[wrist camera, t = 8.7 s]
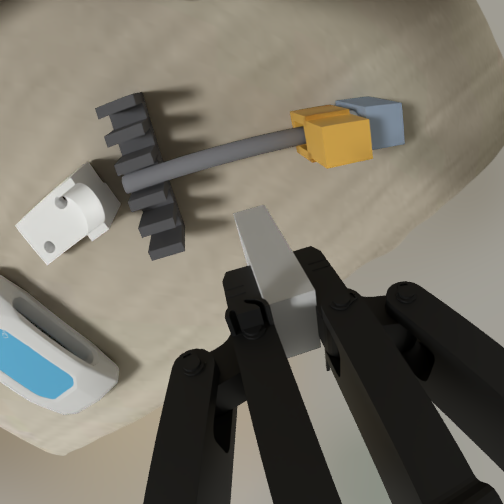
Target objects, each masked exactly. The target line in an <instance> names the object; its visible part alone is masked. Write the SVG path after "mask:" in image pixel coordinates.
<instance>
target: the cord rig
mask: <svg viewBox="0 0 504 504" xmlns="http://www.w3.org/2000/svg"><path fill="white" fill-rule="evenodd" d="M336 106H338V107H342V108H347V109H349V112H350V114H353V115H356V116H360V117H364V118H367V119H369V123H370V132H371V143H372V150H375V149H380V148H386V147H391V146H397V145H402V144H405V142H404V126H403V113H402V103H400V102H395V101H390V100H385V99H380V98H374V97H360V98H352V99H344V100H337V101H336ZM95 110H96V113H97V116H98V119H101V118H103V117H106V116H108V115H109V116H110V119H111V122H112V126H113V129H114V130H113V131H112V132H110V133H109V134H107V135H106V136H104V138H105V141H106V144H107V147H111V146H113V145H116V144H119V147H120V150H121V153H122V157H121V158H120V159H119V160H118V162H117V163H116V164H115V165H114V167H115V170H116V172H117V175H118V176H120V175H123V174H124V176H122V184H123V187H124V190H125V192H126V193H127V194H128V193H132V194H131V196H130V198H129V200H128V204H129V207H130V209H131V212H134V211H137V210H140V209H142V211H143V214H142V217H141V221H140V224H139V228H138V229H139V231H140V234H141V236H142V238H143V237H146V236H149V235H151V240H150V245H149V251H148V253H149V255H150V257H151V259H152V261H153V260H156V259H160V258H163V257H166V256H170V255H173V254H176V253H180V252H183V251H185V226H184V223H183V220H182V217H181V214H180V211H179V208H178V205H177V202H176V199H175V196H174V193H173V190H172V187H171V184H170V181H169V180H171V179H174V178H177V177H180V176H184V175H187V174H190V173H194V172H197V171H200V170H204V169H207V168H211V167H214V166H218V165H222V164H225V163H229V162H233V161H236V160H240V159H244V158H248V157H252V156H256V155H260V154H264V153H268V152H272V151H276V150H281V149H285V148H289V147H294V146H298V145H303V144H306V138H305V132H304V126H301V127H296V128H291V129H286V130H282V131H277V132H273V133H268V134H264V135H260V136H255V137H251V138H247V139H243V140H239V141H235V142H231V143H227V144H224V145H220V146H216V147H213V148H209V149H206V150H202V151H199V152H195V153H192V154H188V155H185V156H182V157H178V158H175V159H172V160H169V161H166V162H163V160H162V157H161V153H160V150H159V147H158V144H157V141H156V137H155V134H154V131H153V127H152V124H151V121H150V117H149V114H148V111H147V107H146V104H145V100H144V97H143V93H142V92H140V93H134V94H131V95H128V96H125V97H123V98H120V99H117V100H115V101H112V102H110V103H107V104H105V105H102V106H100V107H97V108H95Z"/></svg>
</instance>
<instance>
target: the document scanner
mask: <svg viewBox="0 0 504 504" xmlns="http://www.w3.org/2000/svg"><path fill="white" fill-rule="evenodd" d="M17 310H18V311H19V312H20V313H22V314H23V315H24V316H25V317H27V318H28V319H29V320H31V321H32V322H33V323H35V324H36V325H37V326H39V327H40V328H41V329H43V330H44V331H45V332H46V333H48V334H49V335H50V336H52V337H53V338H55V339H56V340H57V341H58V342H60V343H61V344H62V345H63V346H65V347H66V348H67V349H68V350H70V351H71V352H72V353H73V354H72V353H71V352H69V351H68V350H66V349H65V348H63V347H62V346H60V345H59V344H58V343H56V342H55V341H54V340H52V339H51V338H49V337H48V336H47V335H45V334H44V333H43V332H42V331H40V330H39V329H38V328H37V327H35V326H34V325H33V324H32V323H31V322H29V321H28V320H27V319H26V318H25V317H23V316H22V315H21V314H20V313H19V312H18V311H17ZM74 354H75V355H76V356H75V355H74ZM118 376H119V368H118V366H117V365H116V364H115V363H114V362H113V361H112V360H111V359H109V358H108V357H107V356H106V355H105V354H104V353H103V352H102V351H101V350H100V349H99V348H97V347H96V346H95V345H94V344H93V343H92V342H91V341H90V340H88V339H87V338H85V337H84V336H83V335H81V334H80V333H78V332H77V331H76V330H74V329H73V328H72V327H70V326H69V325H68V324H66V323H65V322H64V321H63V320H61V319H60V318H59V317H57V316H56V315H55V314H54V313H52V312H51V311H50V310H49V309H47V308H46V307H45V306H44V305H42V304H41V303H40V302H39V301H38V300H36V299H35V298H34V297H33V296H32V295H31V294H29V293H28V292H27V291H25V290H23V289H22V288H20V287H19V286H17V285H16V284H14V283H12V282H11V281H9V280H8V279H6V278H5V277H3V276H2V275H0V382H1V383H3V384H4V385H5V386H7V387H8V388H10V389H11V390H13V391H14V392H16V393H17V394H19V395H20V396H22V397H24V398H25V399H27V400H28V401H30V402H32V403H34V404H37V405H39V406H42V407H44V408H47V409H49V410H52V411H54V412H57V413H60V414H63V415H69V414H76V413H79V412H81V411H82V410H84V409H86V408H87V407H89V406H91V405H92V404H94V403H96V402H97V401H99V400H100V399H101V398H102V397H103V396H104V395H105V394H106V393H108V392H109V391H110V390H111V389H112V388H113V387H114V386H115V385H116V384H117V383H118Z"/></svg>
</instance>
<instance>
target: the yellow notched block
mask: <svg viewBox="0 0 504 504" xmlns="http://www.w3.org/2000/svg"><path fill="white" fill-rule="evenodd" d="M290 115H291V120H292V125H293V128H296V127H301V126H304V132H305V138H306V144H303V145H298V146H296V148H297V152H298V153H299V154H301V155H302V156H304V157H305V158H307V159H308V160H309V161H311V162H312V163H313V162H318V163H320V164H321V165H322V166H324V167H325V168H327V169H328V168H332V167H337V166H341V165H346V164H350V163H355V162H359V161H364V160H369V159H373V155H372V143H371V132H370V123H369V119H367V118H364V117H360V116H356V115H353V114H350V112H349V109H347V108H342V107H338V106H334V105H324V106H318V107H312V108H306V109H301V110H295V111H290Z"/></svg>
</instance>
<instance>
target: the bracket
mask: <svg viewBox="0 0 504 504" xmlns="http://www.w3.org/2000/svg"><path fill="white" fill-rule="evenodd" d="M62 196H64V197H65V198H66V199H67V201H66V200H64V199H63V197H62ZM120 205H121V203H120V202H119V201H118V199H117V198H116V196H115V195H114V194H113V192H112V191H111V189H110V188H109V187H108V185H107V184H106V182H105V183H103V182H102V180H101V179H100V177H99V176H98V175H97V173H96V172H95V170H94V169H93V167H92V166H91V165H90V163H89V162H86V163H85V164H84V165H83V166H81V167H80V168H79V169H78V170H76V171H75V172H74V173H73V174H71V175H70V176H69V177H68V178H66V179H65V180H64V181H63V182H62V183H61V184H59V185H58V186H57V187H56V188H55V189H54V190H52V191H51V192H50V193H49V194H48V195H47V196H46V197H44V198H43V199H42V200H41V201H40V202H39V203H38V204H37V205H36V206H35V207H34V208H32V209H31V210H30V211H29V212H28V213H27V214H26V215H25V216H24V217H23V218H22V219H21V220H20V221H19V222H18V223H17V224H16V225H15V227H16V228H17V229H18V230H19V232H20V233H21V234H22V236H23V237H24V238H25V239H26V241H27V242H28V243H29V244H30V246H31V247H32V248H33V249H34V250H35V252H36V253H37V254H38V255H39V256H40V258H41V259H42V260H43V261H44V262H45V263H46V265H48V264H50V263H51V262H52V261H53V260H55V259H56V258H57V257H59V256H60V255H61V254H62V253H64V252H65V251H66V250H68V249H69V248H70V247H71V246H73V245H74V244H75V243H77V242H78V241H79V240H81V239H82V238H84V237H85V236H86V235H87V236H88V237H89V238H90V239H91V241H93V240H94V239H96V238H97V237H99V236H100V235H102V234H103V233H104V232H106V231H107V230H109V228H110V226H111V224H112V222H113V220H114V218H115V215H116V213H117V211H118V209H119V207H120Z"/></svg>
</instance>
